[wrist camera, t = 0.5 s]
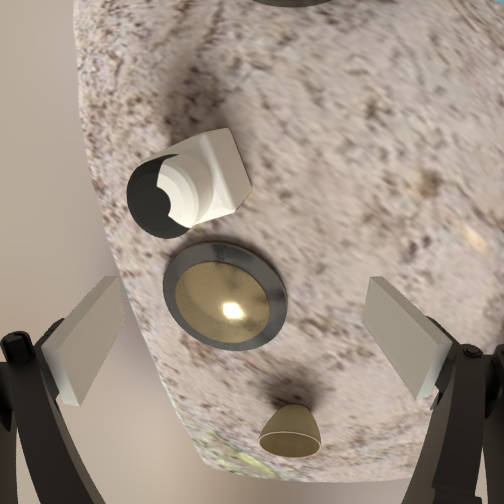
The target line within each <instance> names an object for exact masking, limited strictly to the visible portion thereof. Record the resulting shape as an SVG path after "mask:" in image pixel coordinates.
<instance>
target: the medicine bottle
mask: <svg viewBox="0 0 504 504" xmlns="http://www.w3.org/2000/svg"><path fill="white" fill-rule="evenodd" d="M138 165H139V167H137V168H136V169H135V171H134V172H133V173H132V175H131V177H130V179H129V182H128V185H127V203H128V207H129V210H130V213H131V215H132V217H133V218H134V220H135V221H136V223H137V224H138V225H139V226H140V227H141V228H142V229H143V230H145V231H146V232H147V233H149V234H151V235H153V236H155V237H159V238H164V239H170V238H176V237H179V236H181V235H183V234H184V233H186V232H187V231H188V230H189V229H190V228H191V227H192V226H193V225H195V224H198V223H201V222H205V221H208V220H211V219H214V218H217V217H221V216H224V215H227V214H230V213H234V212H235V211H236V210H237V209H238V208H239V206H240V205H241V204H242V203H243V202H244V200H245V199H246V198H247V197H248V195H249V194H250V193H251V192H252V187H251V184H250V181H249V179H248V176H247V173H246V171H245V168H244V165H243V163H242V160H241V157H240V155H239V152H238V149H237V147H236V144H235V142H234V139H233V136H232V134H231V131H230V129H229V128H223V129H217V130H212V131H207V132H202V133H200V134H198V135H195V136H193V137H191V138H188V139H186V140H184V141H182V142H179V143H177V144H175V145H173V146H171V147H169V148H166V149H164V150H162V151H160V152H158V153H156V154H154V155H152V156H150V157H148V158H146V159H144V160H142V161H140V162H139V164H138Z"/></svg>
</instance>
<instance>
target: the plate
mask: <svg viewBox="0 0 504 504" xmlns="http://www.w3.org/2000/svg"><path fill="white" fill-rule="evenodd" d="M163 294H164V299H165V302H166V305H167V307H168V309H169V311H170V313H171V315H172V316H173V318H174V319H175V321H176V322H177V323H178V324H179V325H180V326H181V327H182V328H183V329H184V330H185V331H186V332H187V333H188V334H190V335H191V336H192V337H194V338H195V339H197V340H199V341H201V342H203V343H205V344H207V345H209V346H212V347H215V348H219V349H223V350H230V351H244V350H251V349H255V348H258V347H260V346H263V345H264V344H266V343H268V342H269V341H271V340H272V339H273V338H274V337H275V336H276V335H277V334H278V333H279V331H280V330H281V328H282V326H283V324H284V322H285V318H286V314H287V306H288V303H287V294H286V290H285V287H284V285H283V282H282V280H281V279H280V277H279V275H278V274H277V272H276V271H275V270H274V268H273V267H272V266H271V265H270V264H269V263H268V262H267V261H266V260H264V259H263V258H262V257H261V256H259V255H258V254H256V253H255V252H253V251H251V250H249V249H247V248H245V247H243V246H240V245H237V244H234V243H229V242H224V241H206V242H200V243H197V244H194V245H192V246H189V247H187V248H186V249H184V250H183V251H181V252H180V253H179V254H178V255H177V256H176V257H175V258H174V259H173V260H172V262H171V263H170V264H169V266H168V268H167V270H166V272H165V276H164V280H163Z"/></svg>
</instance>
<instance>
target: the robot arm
mask: <svg viewBox="0 0 504 504" xmlns="http://www.w3.org/2000/svg"><path fill="white" fill-rule="evenodd" d="M253 1H256V2H259V3H262V4H266V5H271V6H278V7H306V6H313V5H318V4H322V3H325V2H328V1H331V0H253ZM494 1H496V2H497V3H499V4H500V5H502V6H503V7H504V0H494ZM362 323H363V324H364V326H365V327H366V329H367V330H368V331H369V333H370V334H371V336H372V337H373V338H374V340H375V341H376V343H377V344H378V345H379V347H380V348H381V350H382V351H383V353H384V354H385V355H386V357H387V358H388V360H389V361H390V363H391V364H392V366H393V367H394V369H395V370H396V371H397V373H398V374H399V376H400V377H401V379H402V380H403V382H404V383H405V385H406V386H407V388H408V389H409V391H410V392H411V394H412V395H413V397H414V398H415V400H417V399H421V398H425V397H428V396H430V395H431V392H432V390H433V388H434V386H435V385H436V387H437V388H438V389H439V392H438V394H437V396H436V398H435V400H434V402H433V404H432V406H431V408H430V410H432V409H433V412H432V416H431V420H430V423H429V427H428V431H427V434H426V438H425V441H424V444H423V447H422V451H421V454H420V457H419V460H418V463H417V465H416V468H415V471H414V474H413V476H412V479H411V482H410V484H409V487H408V489H407V492H406V494H405V496H404V499H403V501H402V503H401V504H482V499H481V497H476V496H475V489H476V484H477V479H478V473H479V467H480V460H481V452H482V446H483V453H484V461H485V470H486V479H487V494H488V504H504V344H501V345H498V346H497V347H496V349H495V351H494V354H493V355H484V354H483V352H482V351H481V350H480V349H479V348H478V347H476V346H474V345H471V344H460V343H459V342H457V341H456V340H455V339H454V338H453V337H452V336H451V335H450V334H449V333H448V332H446V330H445V329H444V328H443V327H441V325H440V324H439V323H438V322H437V321H435V320H434V319H432V318H430V317H428V316H425V315H424V314H423V313H422V312H421V311H420V310H419V309H418V308H417V307H416V306H414V305H413V304H412V303H411V302H410V301H409V300H408V299H407V298H406V297H405V296H404V295H402V294H401V293H400V292H399V291H398V290H397V289H396V288H395V287H394V286H392V285H391V284H390V283H389V282H388V281H387V280H386V279H385V278H383V277H382V276H381V277H370V280H369V286H368V292H367V297H366V302H365V308H364V313H363V317H362ZM124 324H125V317H124V312H123V306H122V300H121V294H120V287H119V280H118V276H104V277H103V278H102V280H100V282H99V283H98V284H97V285H96V286H95V287H94V288H93V289H92V290H91V291H90V292H89V293H88V294H87V295H86V296H85V297H84V298H83V300H82V301H81V302H80V303H79V304H78V305H77V306H76V307H75V308H74V309H73V310H72V312H71V313H70V314H69V315H68V316H67V317H66V318H62V319H60V320H58V321H57V322H55V323H54V324H53V325H52V326H51V327H50V328H49V329H48V331H46V332H45V334H44V336H42V337H41V338H40V339H39V341H38V342H37V343H36V344H35V345H34V346H33V345H32V342H31V339H30V336H29V334H28V333H26V332H24V331H16V332H12V333H9V334H8V335H6V336H4V337H3V338H2V340H1V341H0V346H1V349H2V351H3V354H4V356H5V358H6V361H7V362H0V504H18V497H17V481H16V434H17V428H18V433H19V437H20V441H21V445H22V449H23V453H24V456H25V460H26V463H27V466H28V469H29V473H30V476H31V479H32V482H33V484H34V487H35V490H36V493H37V496H38V498H39V501H40V503H41V504H106V503H105V502H104V500H103V498H102V497H101V495H100V494H99V492H98V490H97V488H96V486H95V485H94V483H93V481H92V479H91V477H90V475H89V473H88V472H87V470H86V468H85V466H84V464H83V462H82V460H81V458H80V456H79V454H78V451H77V449H76V447H75V445H74V443H73V440H72V438H71V436H70V434H69V432H68V429H67V426H66V424H65V422H64V419H63V417H62V414H61V411H60V409H59V406H58V404H57V402H56V400H55V399H56V397H57V396H58V394H59V393H60V396H61V398H62V400H63V402H64V404H68V405H73V406H77V407H80V406H81V404H82V402H83V400H84V398H85V396H86V394H87V392H88V390H89V388H90V387H91V385H92V383H93V381H94V379H95V377H96V375H97V373H98V371H99V369H100V368H101V366H102V364H103V362H104V360H105V358H106V356H107V355H108V353H109V351H110V349H111V347H112V346H113V344H114V342H115V340H116V339H117V337H118V335H119V333H120V331H121V330H122V328H123V326H124ZM501 392H502V395H501V396H500V394H501Z"/></svg>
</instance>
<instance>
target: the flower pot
mask: <svg viewBox="0 0 504 504" xmlns="http://www.w3.org/2000/svg"><path fill="white" fill-rule="evenodd" d="M258 445H259V446H260V448H261V449H263V450H264V451H266V452H268V453H270V454H272V455H275V456H279V457H284V458H305V457H309V456H312V455H314V454H316V453H318V452H319V451H320V449H321V438H320V433H319V429H318V426H317V423H316V421H315V419H314V417H313V416H312V414H311V412H310V411H309V410H308V409H307V408H306V407H304V406H302V405H298V404H289V405H285V406H283V407H282V408H280V409H279V410H278V411H277V412H276V413H275V414H274V415H273V416H272V417H271V418H270V420H269V421H268V422H267V424H266V425H265V427H264V428H263V430H262V432H261V434H260V436H259V439H258Z"/></svg>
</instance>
